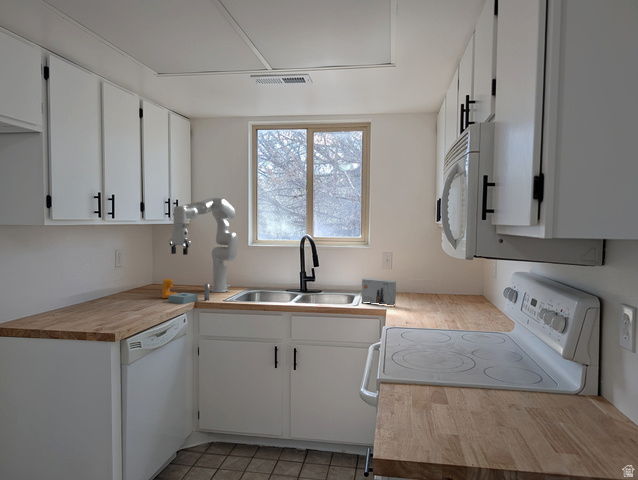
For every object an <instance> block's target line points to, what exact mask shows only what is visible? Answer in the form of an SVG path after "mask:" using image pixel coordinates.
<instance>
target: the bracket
mask: <svg viewBox="0 0 638 480" xmlns="http://www.w3.org/2000/svg"><path fill="white" fill-rule="evenodd" d="M173 285H174V281H173V278H164V279H163V282H162V291H161V298H162V299H169V295H173V294H178V291H177V292H175V291H171V290H170V289H172V288H173Z"/></svg>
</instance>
